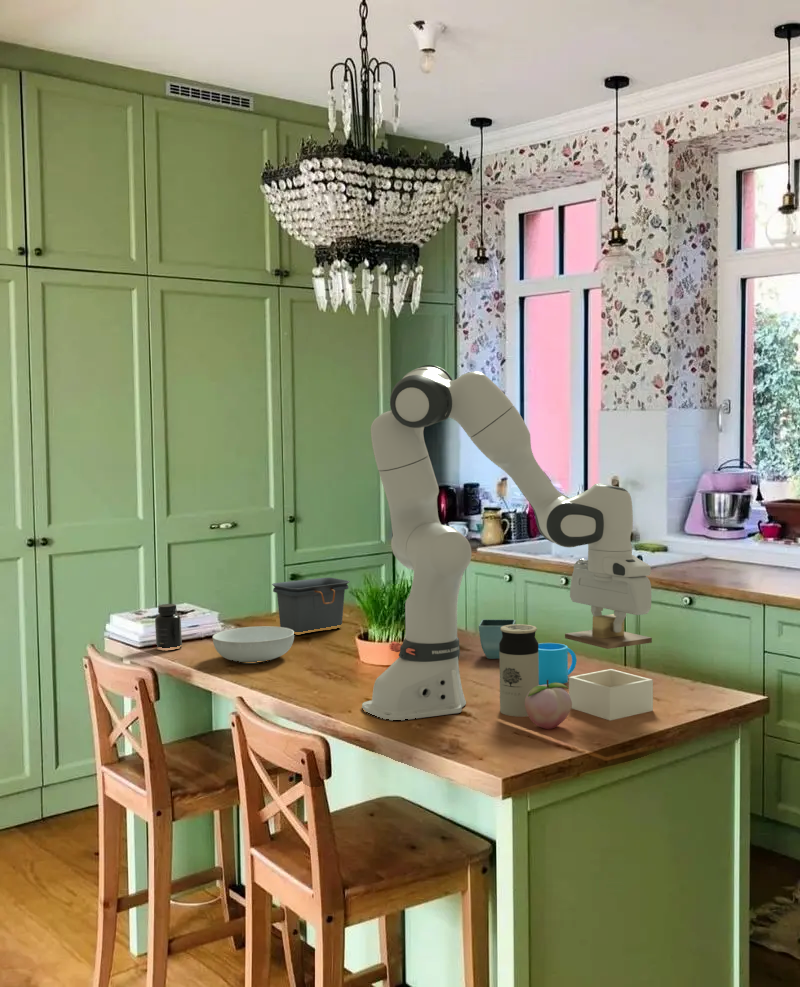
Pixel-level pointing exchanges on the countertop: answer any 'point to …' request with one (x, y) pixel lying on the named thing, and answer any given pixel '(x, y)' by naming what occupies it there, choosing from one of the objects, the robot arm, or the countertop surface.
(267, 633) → the serving bowl
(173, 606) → the supplement bottle
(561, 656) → the mug
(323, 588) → the storage bin
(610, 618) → the lid
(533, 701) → the decorative fruit
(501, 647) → the travel mug
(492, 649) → the flower pot
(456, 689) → the robot arm
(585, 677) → the box
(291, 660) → the countertop surface
